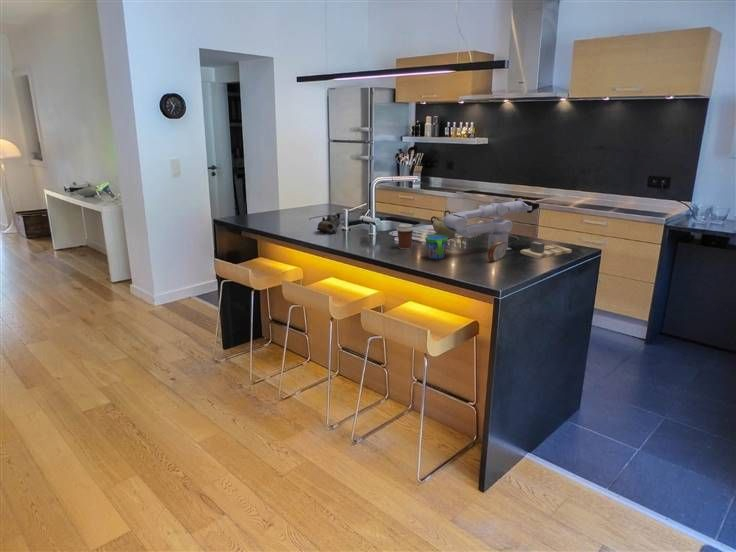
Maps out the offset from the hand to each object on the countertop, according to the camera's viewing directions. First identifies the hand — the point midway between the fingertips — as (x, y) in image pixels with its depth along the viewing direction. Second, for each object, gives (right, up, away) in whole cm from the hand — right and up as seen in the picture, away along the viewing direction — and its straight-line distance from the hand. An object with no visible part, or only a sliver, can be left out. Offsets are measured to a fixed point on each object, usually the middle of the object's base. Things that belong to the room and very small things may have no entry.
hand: (533, 204), depth 259 cm
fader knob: (-2, -24, -13) cm, 28 cm away
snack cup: (-52, -28, -14) cm, 60 cm away
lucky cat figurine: (-108, -10, +44) cm, 117 cm away
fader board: (+3, -25, -10) cm, 27 cm away
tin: (-23, -29, -19) cm, 42 cm away
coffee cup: (-65, -22, +5) cm, 69 cm away
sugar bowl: (-40, -15, +27) cm, 51 cm away
